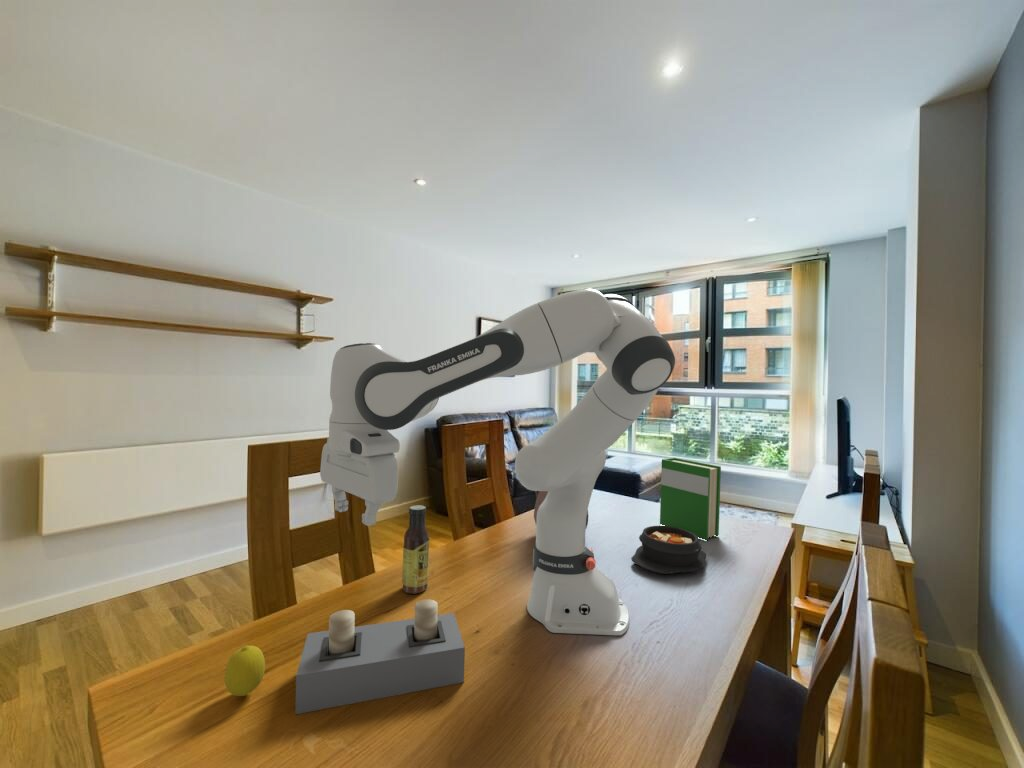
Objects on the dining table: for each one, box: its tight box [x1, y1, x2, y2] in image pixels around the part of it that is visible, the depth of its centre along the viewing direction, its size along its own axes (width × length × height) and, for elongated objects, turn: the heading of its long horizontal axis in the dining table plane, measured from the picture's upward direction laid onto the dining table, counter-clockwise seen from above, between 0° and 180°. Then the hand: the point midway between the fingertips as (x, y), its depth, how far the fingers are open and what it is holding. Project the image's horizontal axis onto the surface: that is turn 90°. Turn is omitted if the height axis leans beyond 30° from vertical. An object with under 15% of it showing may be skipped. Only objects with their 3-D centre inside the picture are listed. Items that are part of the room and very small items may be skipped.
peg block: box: [295, 612, 466, 715], centre depth 74 cm, size 26×11×6 cm, turn 107°
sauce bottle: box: [401, 504, 431, 595], centre depth 104 cm, size 7×6×20 cm
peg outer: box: [328, 609, 356, 656], centre depth 72 cm, size 4×4×6 cm
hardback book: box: [659, 457, 722, 541], centre depth 148 cm, size 18×7×24 cm, turn 36°
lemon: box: [224, 644, 266, 697], centre depth 69 cm, size 6×6×8 cm
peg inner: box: [414, 598, 439, 642], centre depth 76 cm, size 4×4×6 cm
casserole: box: [630, 525, 707, 575], centre depth 122 cm, size 25×19×8 cm
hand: (354, 517), depth 74 cm, fingers open, 8 cm apart
